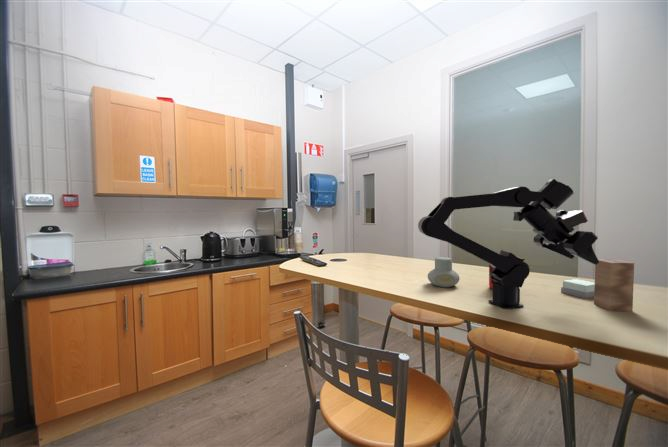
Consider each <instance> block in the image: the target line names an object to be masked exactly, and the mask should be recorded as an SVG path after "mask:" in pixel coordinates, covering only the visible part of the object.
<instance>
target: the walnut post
mask: <svg viewBox="0 0 668 447" xmlns="http://www.w3.org/2000/svg"><path fill="white" fill-rule="evenodd" d="M597 259H598V258H597ZM598 261H599V263H598V264H597V265H594V283H595V288H594V297H593V305H595V306H598V307H600V308H601V309H602V308H603V309H605V310H607V311H611V312H614V311H615V312H633V309H634V308H633V307H634V283H635V282H634V279H635V278H634V276H635V262H630V261H628V260H627V261H626V260H622V259H613V258H611V259H610V258H609V259H608V258H607V259H606V258H605V259H604V258H602V259H601V258H600V259H598Z"/></svg>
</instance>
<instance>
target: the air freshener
mask: <svg viewBox="0 0 668 447" xmlns="http://www.w3.org/2000/svg"><path fill="white" fill-rule="evenodd" d="M427 279H428V281H429V282H430V283H431V284H432V285H434V286H437V287H440V288H451V287H455V285H457V284H458V283H459V282H460V275H459V273H457V271H455V270H454V269H453V259H452V257H446V256H437V257H435V258H434V268H433V269H431V270H430V271H429V272H428V274H427Z"/></svg>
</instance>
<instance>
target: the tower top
mask: <svg viewBox="0 0 668 447" xmlns="http://www.w3.org/2000/svg"><path fill="white" fill-rule="evenodd" d="M562 287H563V288H567V289H572V290H576V291H580V292H585V293H588V292H594V288H595V281H594V282H593V281H587V280H583V279H578V278H573V279H566V280H562Z"/></svg>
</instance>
